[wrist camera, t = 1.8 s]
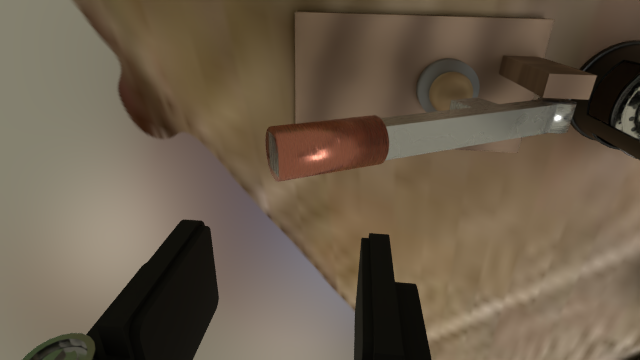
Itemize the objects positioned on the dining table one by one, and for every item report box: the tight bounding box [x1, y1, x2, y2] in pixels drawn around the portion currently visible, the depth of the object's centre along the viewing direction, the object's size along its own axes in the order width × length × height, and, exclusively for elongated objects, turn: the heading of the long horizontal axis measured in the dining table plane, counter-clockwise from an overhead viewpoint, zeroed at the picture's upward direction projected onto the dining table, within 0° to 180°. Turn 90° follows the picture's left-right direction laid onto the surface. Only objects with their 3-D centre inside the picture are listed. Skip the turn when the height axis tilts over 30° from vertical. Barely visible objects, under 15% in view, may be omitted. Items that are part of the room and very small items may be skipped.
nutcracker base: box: [295, 11, 597, 153], centre depth 32 cm, size 22×12×11 cm, turn 89°
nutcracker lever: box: [266, 97, 577, 182], centre depth 24 cm, size 22×3×4 cm, turn 89°
